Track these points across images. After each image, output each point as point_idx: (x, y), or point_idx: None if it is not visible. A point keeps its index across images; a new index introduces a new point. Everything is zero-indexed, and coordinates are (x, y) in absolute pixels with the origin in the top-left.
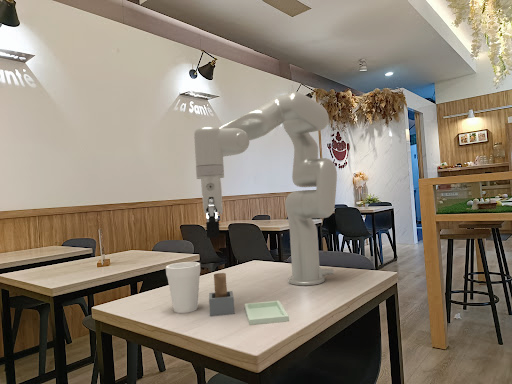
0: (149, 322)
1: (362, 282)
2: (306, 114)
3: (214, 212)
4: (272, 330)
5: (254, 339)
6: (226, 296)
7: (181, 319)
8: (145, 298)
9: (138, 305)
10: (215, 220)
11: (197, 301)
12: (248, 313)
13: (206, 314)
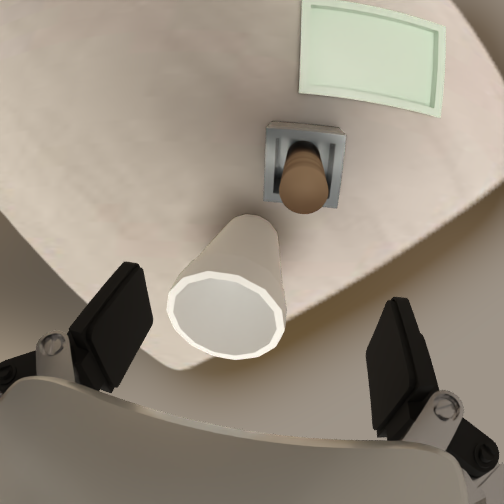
0: (299, 306)
1: None
2: None
3: (494, 465)
4: (464, 79)
5: (489, 131)
6: (313, 152)
7: (308, 251)
8: None
9: None
10: (98, 350)
11: (255, 224)
12: (394, 103)
13: None
